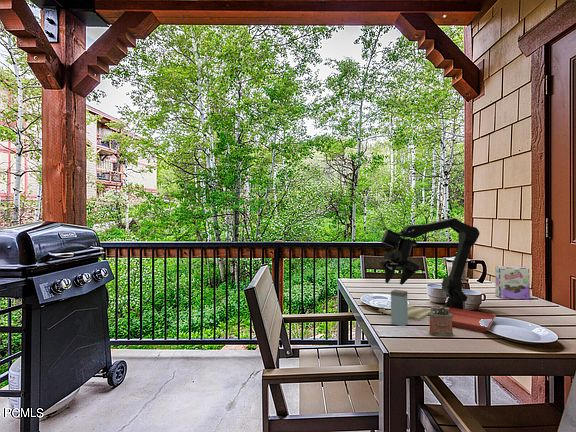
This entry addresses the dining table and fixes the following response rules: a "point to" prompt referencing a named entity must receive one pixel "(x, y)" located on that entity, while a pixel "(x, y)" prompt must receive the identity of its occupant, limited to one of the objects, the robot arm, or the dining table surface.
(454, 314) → the red flat slab
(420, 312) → the birch board
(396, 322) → the slate block
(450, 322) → the reddish brown box
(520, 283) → the candy box
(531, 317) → the dining table surface
